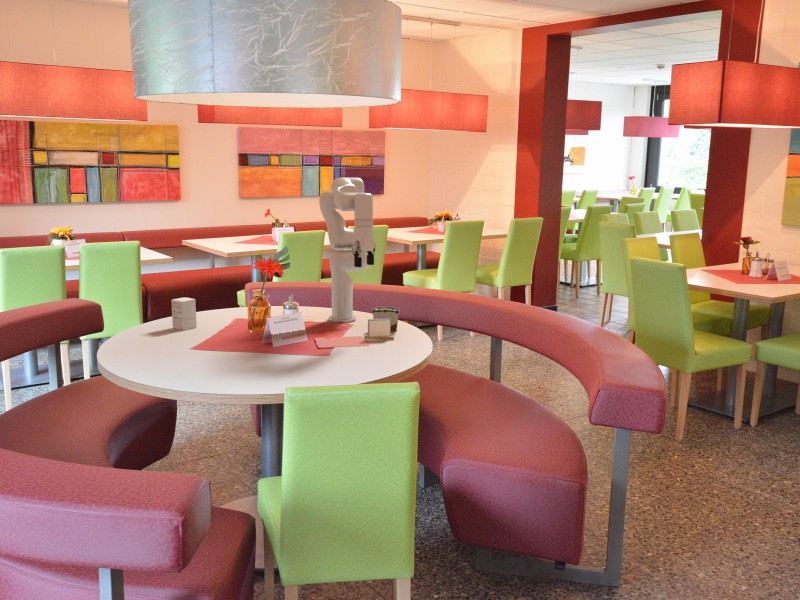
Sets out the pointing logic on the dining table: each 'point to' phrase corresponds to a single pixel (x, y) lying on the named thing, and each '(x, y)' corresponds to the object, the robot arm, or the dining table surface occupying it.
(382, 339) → the stand
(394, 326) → the half round cake
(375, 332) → the grey square slab
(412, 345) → the dining table surface
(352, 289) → the robot arm
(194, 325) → the supplement box
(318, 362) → the dining table surface
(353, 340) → the mat
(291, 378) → the dining table surface
